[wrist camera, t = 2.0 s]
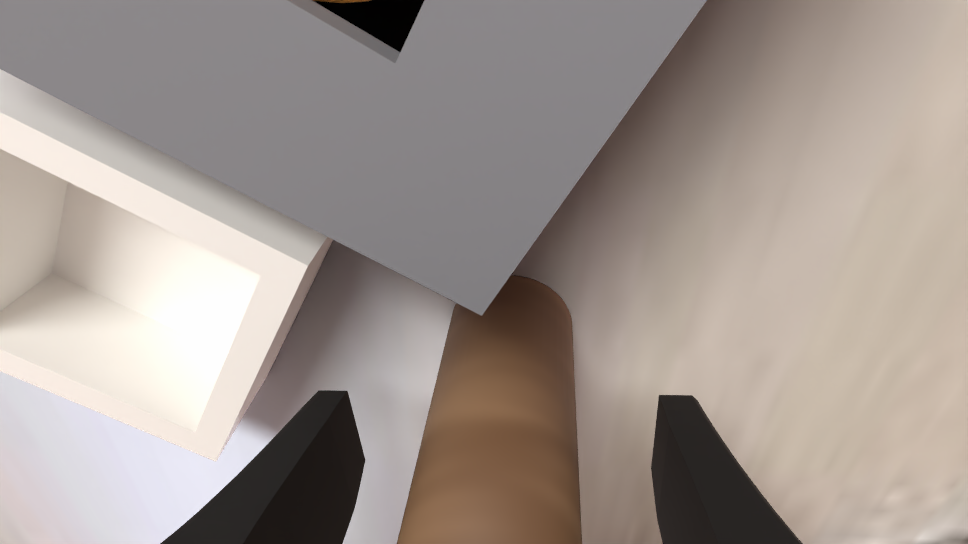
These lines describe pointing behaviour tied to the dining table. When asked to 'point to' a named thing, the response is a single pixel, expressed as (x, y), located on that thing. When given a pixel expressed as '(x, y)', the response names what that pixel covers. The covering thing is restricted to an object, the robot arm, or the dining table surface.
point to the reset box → (365, 110)
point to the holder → (138, 275)
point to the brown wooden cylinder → (501, 428)
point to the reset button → (342, 1)
